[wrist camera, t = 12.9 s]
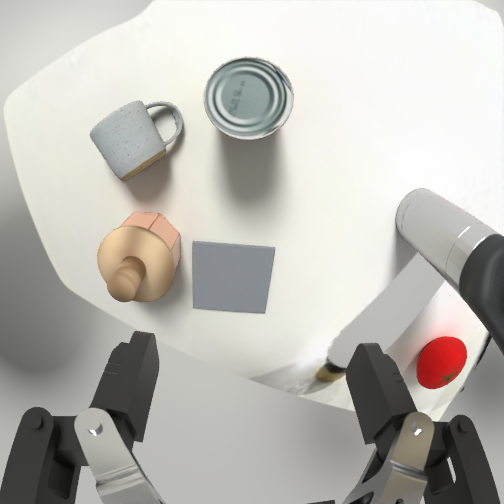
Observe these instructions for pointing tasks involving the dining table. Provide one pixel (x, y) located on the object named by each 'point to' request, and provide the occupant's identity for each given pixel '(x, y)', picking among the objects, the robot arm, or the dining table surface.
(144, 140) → the ceramic mug
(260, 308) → the mat
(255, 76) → the canned food
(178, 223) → the dining table surface
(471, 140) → the dining table surface
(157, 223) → the bowl
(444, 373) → the tomato
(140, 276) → the lid
